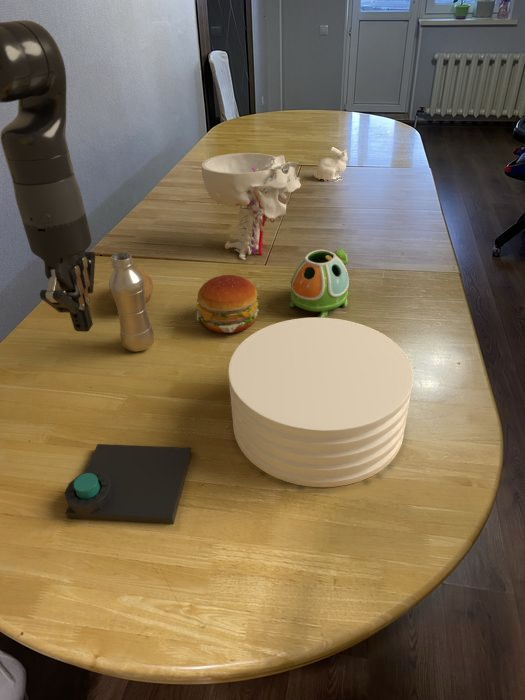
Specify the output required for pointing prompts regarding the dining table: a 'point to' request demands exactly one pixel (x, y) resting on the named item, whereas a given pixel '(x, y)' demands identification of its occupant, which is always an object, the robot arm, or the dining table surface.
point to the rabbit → (332, 166)
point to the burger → (227, 304)
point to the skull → (250, 192)
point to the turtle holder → (320, 282)
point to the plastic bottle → (130, 303)
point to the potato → (147, 285)
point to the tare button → (86, 486)
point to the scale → (133, 484)
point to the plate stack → (319, 400)
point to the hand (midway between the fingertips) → (84, 328)
